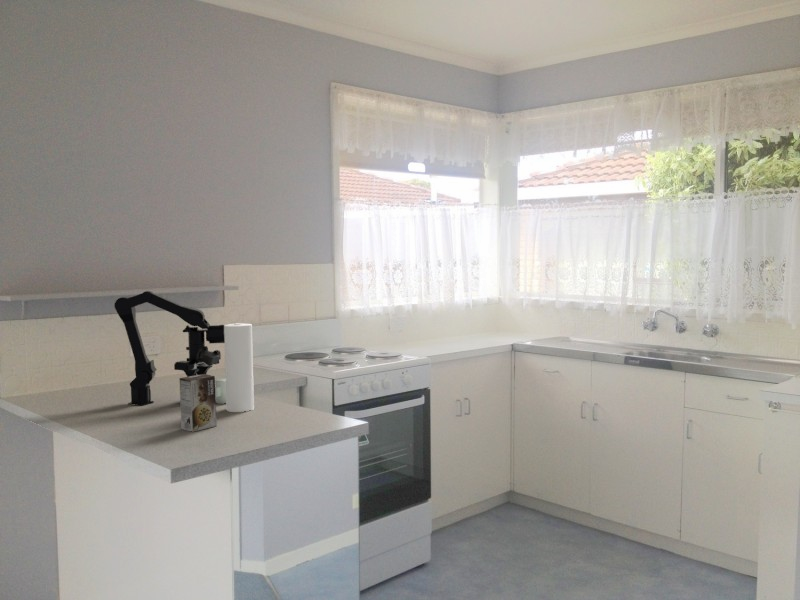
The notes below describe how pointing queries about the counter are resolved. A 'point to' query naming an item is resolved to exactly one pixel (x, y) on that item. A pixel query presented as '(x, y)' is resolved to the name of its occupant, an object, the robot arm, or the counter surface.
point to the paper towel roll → (239, 367)
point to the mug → (220, 391)
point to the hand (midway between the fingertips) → (197, 386)
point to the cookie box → (198, 402)
